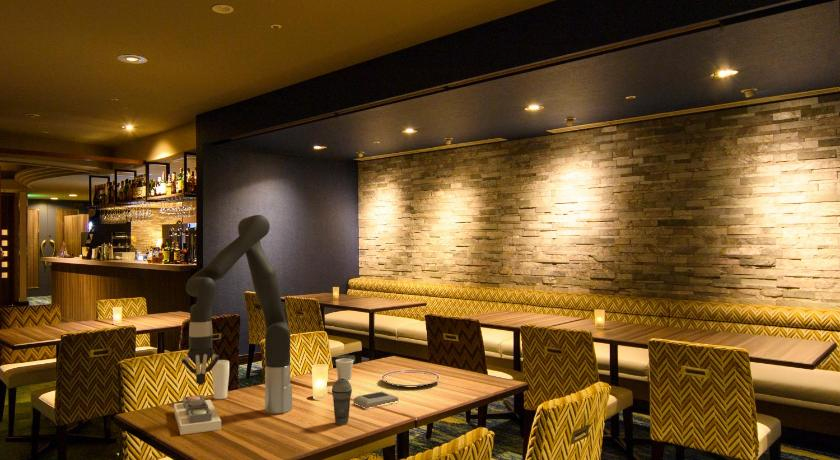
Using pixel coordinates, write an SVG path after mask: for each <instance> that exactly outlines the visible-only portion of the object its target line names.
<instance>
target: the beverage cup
mask: <svg viewBox="0 0 840 460" xmlns="http://www.w3.org/2000/svg"><path fill="white" fill-rule="evenodd" d="M339 376H340V379H338V378H337V380H336V381H334V382H333V385H332V387H331V394H332V401H333V411H334V412H333V415H334V423H336V424H335V425H337V424H345V425H347V424H346V423H348V424H349V417H350V408H351V396H352V393H353V392H352V391H353V389H352V384H351V382H350V383H349V381H348V380H346V379H341V371H340V366H339Z"/></svg>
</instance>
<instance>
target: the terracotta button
mask: <svg viewBox="0 0 840 460" xmlns="http://www.w3.org/2000/svg"><path fill="white" fill-rule="evenodd" d="M191 396H192V397H189V396H187V397H188V398H187V401H190V400H194V399H200V397H199V396H198V395H191Z"/></svg>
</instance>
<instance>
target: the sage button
mask: <svg viewBox="0 0 840 460" xmlns="http://www.w3.org/2000/svg"><path fill="white" fill-rule="evenodd" d="M205 413H207V410H196V411H193V415H197V414H205Z"/></svg>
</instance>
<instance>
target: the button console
mask: <svg viewBox="0 0 840 460" xmlns="http://www.w3.org/2000/svg"><path fill="white" fill-rule="evenodd" d="M192 396H193V395H190V396H183V397H182V402H178V403H173V413H174V416H175V421H176V425H177V426H178V431H179V435H180V436H182V435H191V434H198V433H199V434H200V433H207V432H213V431H221V430H222V419H221V418H220V416H219V414H218V412H217V410H216V407H215V405H214V404H213V402H212V400H211V399H206V398H205V396H204V394H200V395H197V396H199V397H200V399H203V406H199V407H191V408H190V401H191V400H190V401H187V398H188V397H192ZM196 410H207V413H205V414H197V415H193V411H196Z"/></svg>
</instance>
